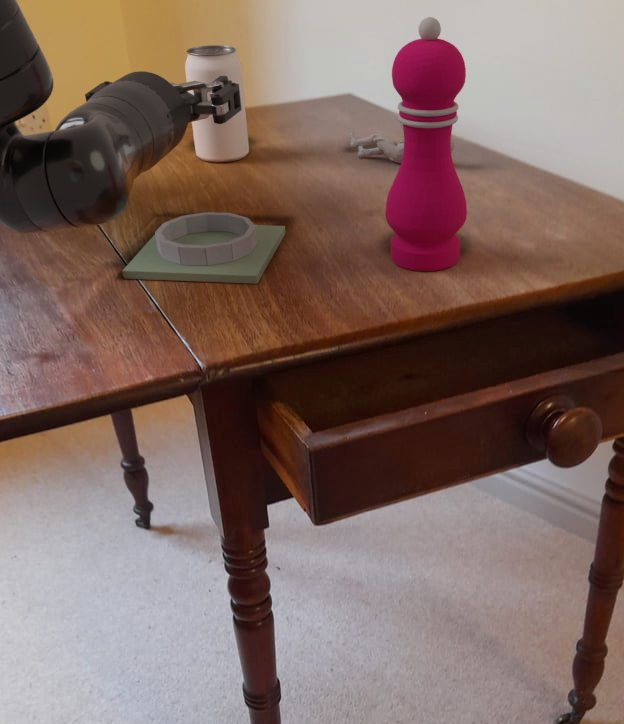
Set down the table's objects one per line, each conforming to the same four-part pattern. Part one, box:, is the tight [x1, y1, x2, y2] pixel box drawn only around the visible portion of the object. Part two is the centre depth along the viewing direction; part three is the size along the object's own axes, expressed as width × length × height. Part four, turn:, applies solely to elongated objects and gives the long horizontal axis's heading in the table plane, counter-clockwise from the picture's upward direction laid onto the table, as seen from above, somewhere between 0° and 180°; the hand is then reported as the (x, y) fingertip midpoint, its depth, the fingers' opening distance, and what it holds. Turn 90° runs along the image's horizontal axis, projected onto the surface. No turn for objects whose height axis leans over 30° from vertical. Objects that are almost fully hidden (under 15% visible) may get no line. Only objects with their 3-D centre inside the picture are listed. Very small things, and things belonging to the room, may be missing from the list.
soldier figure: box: [349, 112, 455, 164], centre depth 103 cm, size 8×5×12 cm
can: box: [184, 44, 250, 164], centre depth 103 cm, size 6×6×12 cm
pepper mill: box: [384, 16, 468, 272], centre depth 74 cm, size 7×7×20 cm
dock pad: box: [122, 211, 286, 285], centre depth 80 cm, size 12×12×2 cm
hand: (186, 85), depth 92 cm, fingers open, 8 cm apart
